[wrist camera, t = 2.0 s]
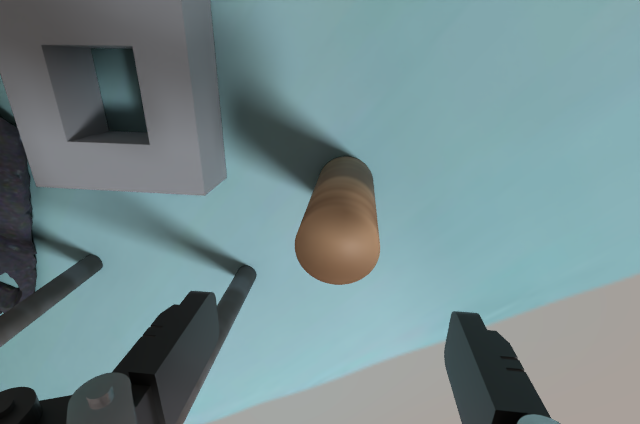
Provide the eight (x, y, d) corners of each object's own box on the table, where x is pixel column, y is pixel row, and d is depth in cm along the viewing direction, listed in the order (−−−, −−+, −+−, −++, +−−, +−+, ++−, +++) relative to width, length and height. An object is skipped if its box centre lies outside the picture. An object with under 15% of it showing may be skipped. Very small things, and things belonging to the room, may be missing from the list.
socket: (33, -7, 23) (-30, -21, 19) (209, -8, 22) (178, -23, 18) (80, 170, 27) (36, 186, 24) (226, 177, 26) (205, 195, 23)
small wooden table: (60, 181, 28) (-1057, 606, 6) (253, 191, 26) (-284, 810, 4) (87, 276, 31) (-552, 764, 9) (259, 289, 30) (-23, 908, 8)
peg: (318, 155, 25) (294, 206, 16) (375, 157, 24) (383, 211, 15) (318, 206, 26) (295, 281, 17) (371, 209, 26) (376, 287, 17)
